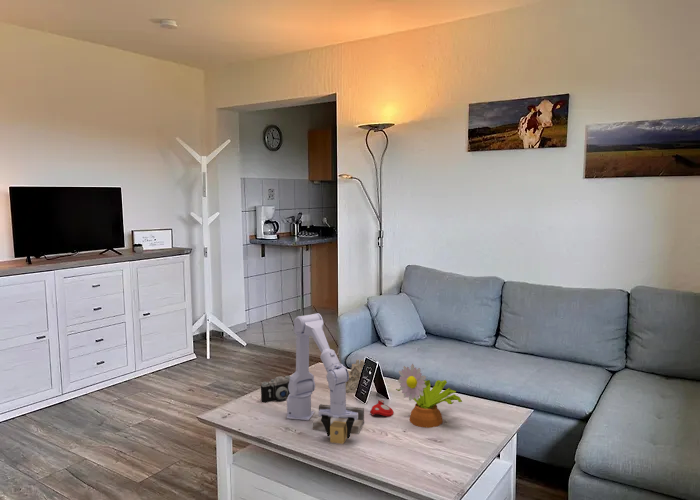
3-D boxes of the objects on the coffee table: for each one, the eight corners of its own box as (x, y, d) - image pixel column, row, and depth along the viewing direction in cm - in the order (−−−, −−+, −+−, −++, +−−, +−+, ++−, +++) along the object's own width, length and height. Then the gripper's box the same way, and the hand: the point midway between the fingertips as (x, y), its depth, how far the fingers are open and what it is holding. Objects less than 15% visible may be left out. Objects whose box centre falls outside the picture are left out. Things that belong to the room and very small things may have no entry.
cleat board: (312, 429, 198) (312, 414, 198) (320, 418, 208) (320, 404, 207) (358, 434, 194) (358, 418, 193) (364, 422, 204) (363, 408, 203)
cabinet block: (329, 443, 187) (329, 427, 186) (334, 436, 193) (333, 420, 192) (343, 445, 186) (342, 429, 185) (347, 437, 191) (346, 422, 191)
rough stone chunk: (373, 382, 247) (370, 352, 245) (359, 396, 232) (356, 364, 231) (343, 380, 254) (340, 350, 252) (328, 393, 239) (325, 362, 237)
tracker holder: (399, 412, 211) (379, 412, 205) (395, 421, 212) (376, 422, 206) (383, 396, 221) (364, 395, 215) (379, 405, 222) (361, 405, 216)
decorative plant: (384, 420, 206) (383, 359, 203) (419, 402, 223) (419, 345, 220) (442, 441, 187) (442, 374, 185) (475, 419, 205) (476, 358, 202)
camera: (266, 405, 222) (265, 383, 221) (260, 400, 227) (259, 378, 226) (297, 398, 230) (296, 376, 229) (290, 393, 235) (289, 372, 234)
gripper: (315, 402, 186) (316, 439, 187) (354, 406, 182) (355, 443, 184) (321, 395, 193) (322, 430, 194) (359, 398, 189) (359, 434, 191)
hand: (338, 436), depth 189 cm, fingers open, 7 cm apart
